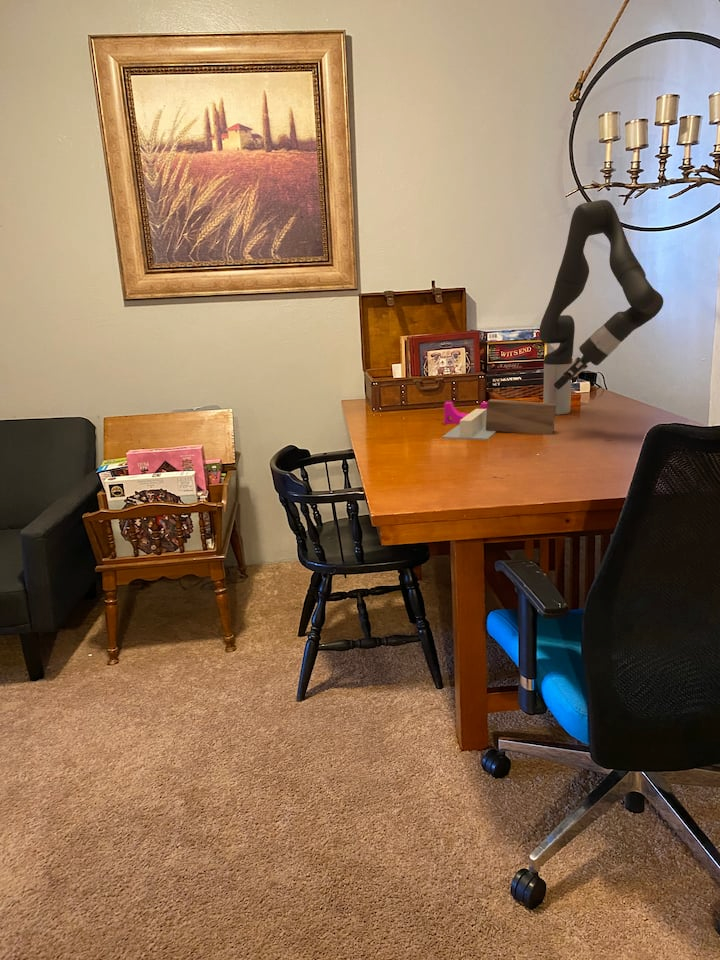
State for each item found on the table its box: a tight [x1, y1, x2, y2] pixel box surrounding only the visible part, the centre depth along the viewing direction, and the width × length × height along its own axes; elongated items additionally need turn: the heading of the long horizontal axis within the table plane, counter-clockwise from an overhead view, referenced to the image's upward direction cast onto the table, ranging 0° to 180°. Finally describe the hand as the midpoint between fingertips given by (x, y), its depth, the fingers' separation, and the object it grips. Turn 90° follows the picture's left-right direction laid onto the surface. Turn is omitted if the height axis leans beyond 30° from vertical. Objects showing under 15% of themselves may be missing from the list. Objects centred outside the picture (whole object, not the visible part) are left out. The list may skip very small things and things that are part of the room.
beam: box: [486, 398, 556, 435], centre depth 211 cm, size 4×20×9 cm, turn 67°
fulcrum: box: [441, 408, 498, 441], centre depth 216 cm, size 22×14×6 cm, turn 157°
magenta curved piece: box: [443, 401, 487, 426], centre depth 231 cm, size 15×6×8 cm, turn 69°
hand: (558, 385), depth 204 cm, fingers open, 8 cm apart
